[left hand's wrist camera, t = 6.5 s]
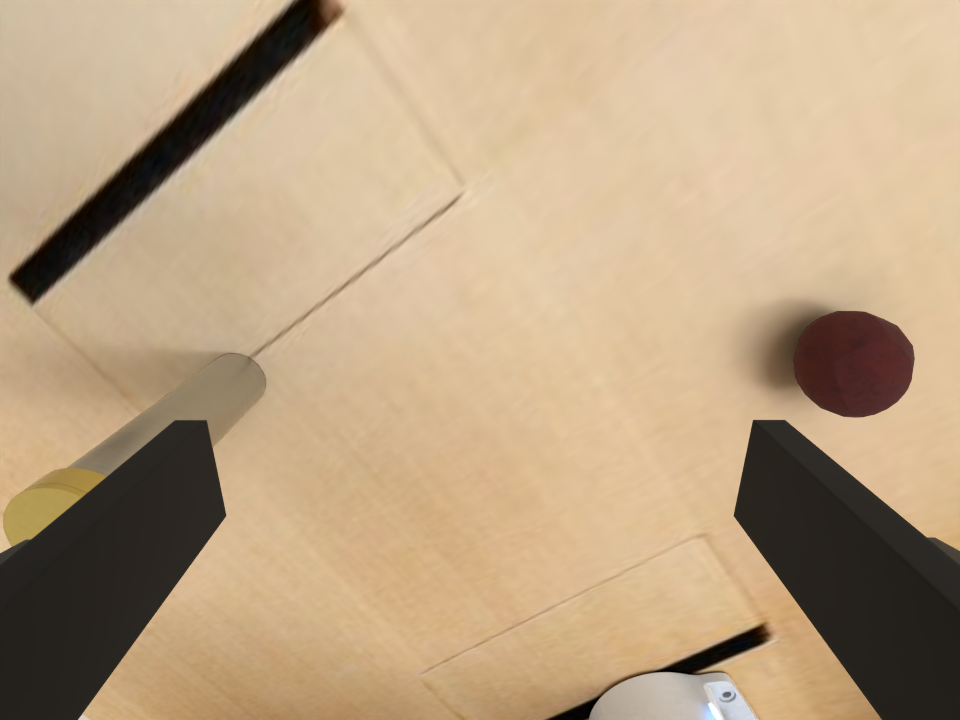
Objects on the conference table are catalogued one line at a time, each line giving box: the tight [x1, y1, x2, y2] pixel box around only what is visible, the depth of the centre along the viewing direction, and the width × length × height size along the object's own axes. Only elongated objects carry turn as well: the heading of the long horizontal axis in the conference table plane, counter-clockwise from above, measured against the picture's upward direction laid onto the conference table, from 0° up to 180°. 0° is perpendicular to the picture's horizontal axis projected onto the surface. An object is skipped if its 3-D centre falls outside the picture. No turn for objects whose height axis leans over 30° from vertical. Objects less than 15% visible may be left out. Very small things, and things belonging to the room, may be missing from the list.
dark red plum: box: [794, 311, 915, 417], centre depth 38 cm, size 7×8×7 cm
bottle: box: [67, 354, 266, 477], centre depth 34 cm, size 4×4×19 cm
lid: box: [3, 468, 106, 547], centre depth 25 cm, size 5×5×2 cm
